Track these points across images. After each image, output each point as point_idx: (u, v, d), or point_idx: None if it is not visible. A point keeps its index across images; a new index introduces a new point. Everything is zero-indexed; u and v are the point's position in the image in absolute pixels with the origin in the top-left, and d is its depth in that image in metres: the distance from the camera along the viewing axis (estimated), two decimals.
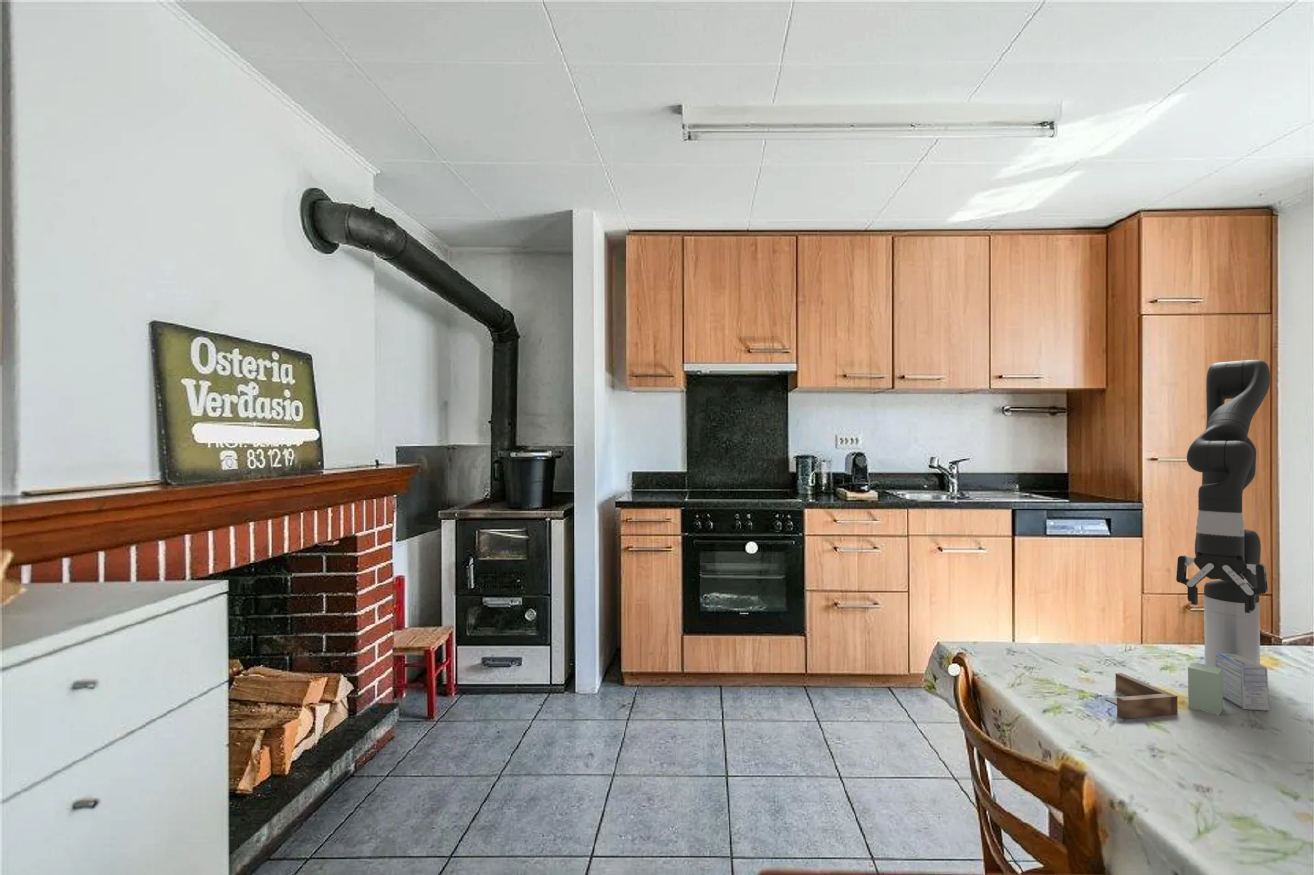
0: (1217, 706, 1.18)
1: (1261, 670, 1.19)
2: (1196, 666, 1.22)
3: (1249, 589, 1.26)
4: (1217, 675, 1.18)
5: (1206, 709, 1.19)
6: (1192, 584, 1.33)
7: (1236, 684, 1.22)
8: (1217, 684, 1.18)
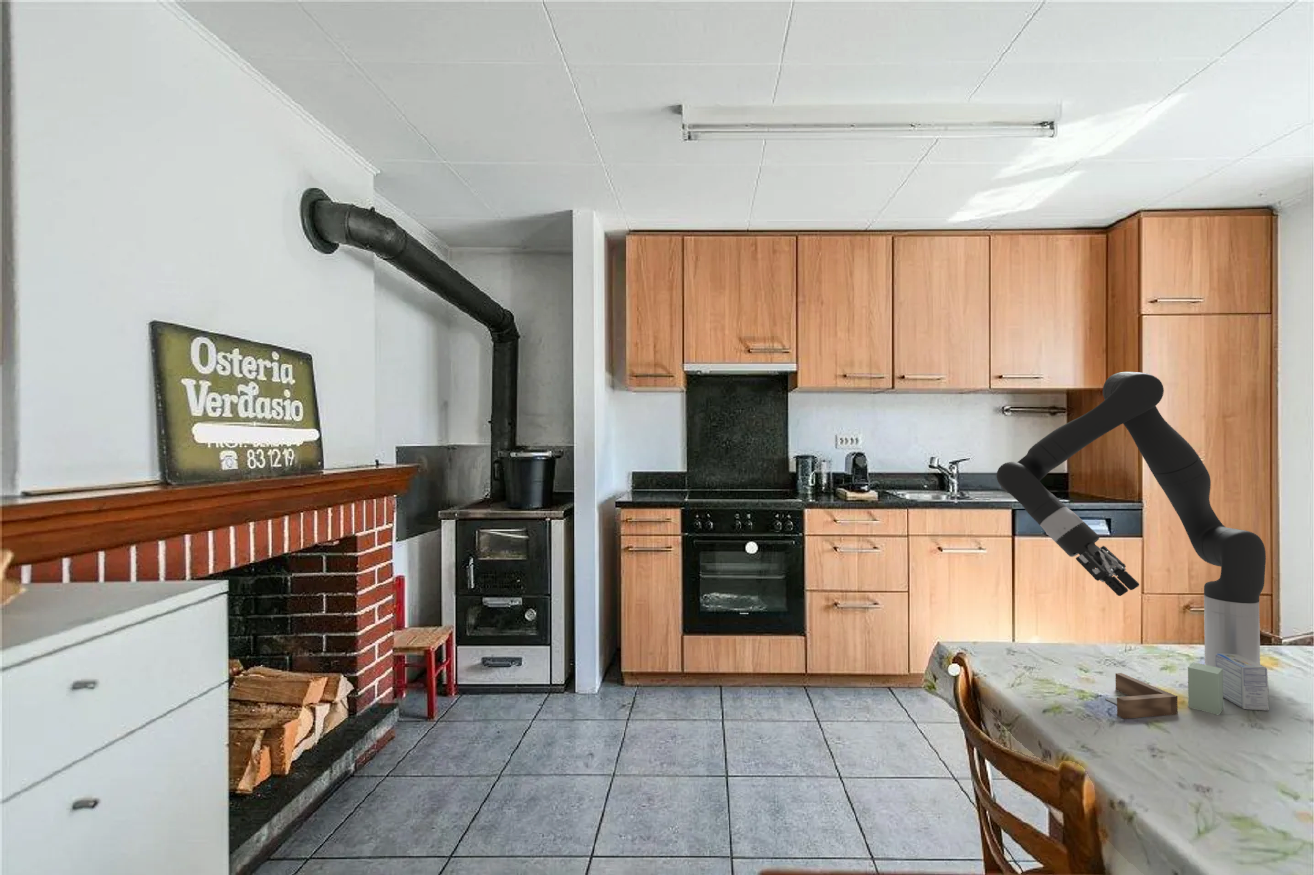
0: (1217, 706, 1.18)
1: (1261, 670, 1.19)
2: (1196, 666, 1.22)
3: None
4: (1217, 675, 1.18)
5: (1206, 709, 1.19)
6: None
7: (1236, 684, 1.22)
8: (1217, 684, 1.18)
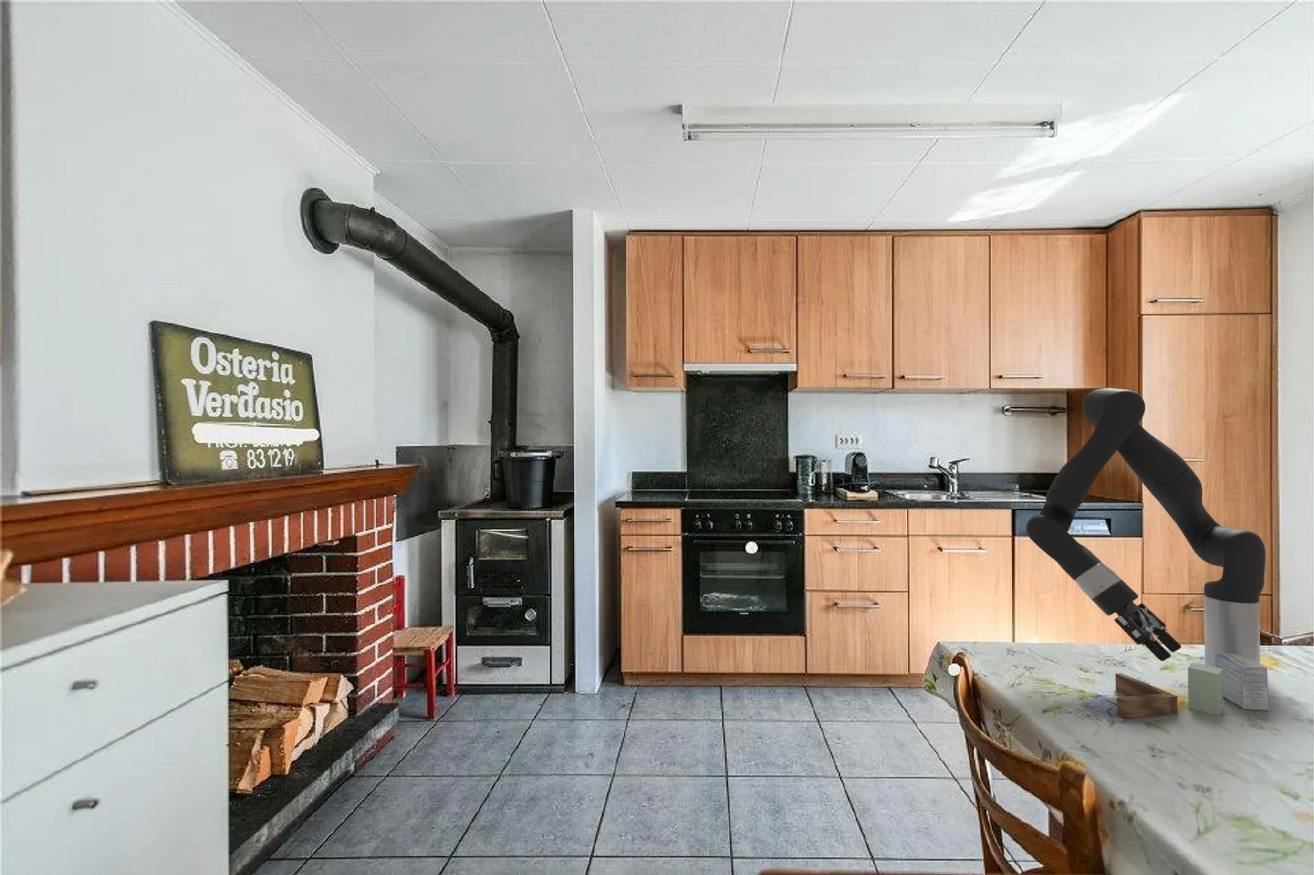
0: (1217, 706, 1.18)
1: (1261, 670, 1.19)
2: (1196, 666, 1.22)
3: None
4: (1217, 675, 1.18)
5: (1206, 709, 1.19)
6: None
7: (1236, 684, 1.22)
8: (1217, 684, 1.18)
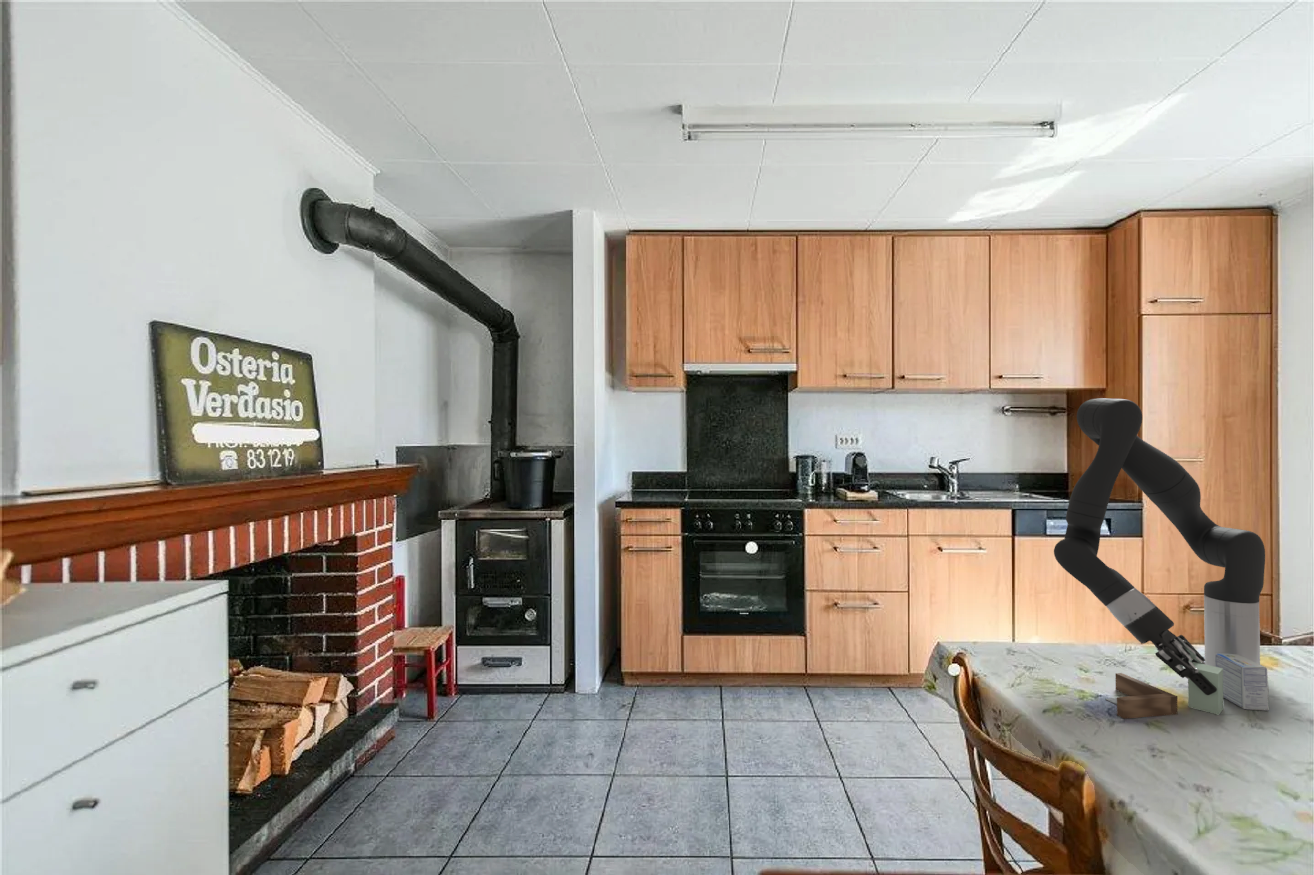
0: (1217, 706, 1.18)
1: (1261, 670, 1.19)
2: (1196, 665, 1.22)
3: None
4: (1217, 675, 1.18)
5: (1206, 709, 1.19)
6: None
7: (1236, 684, 1.22)
8: (1217, 684, 1.18)
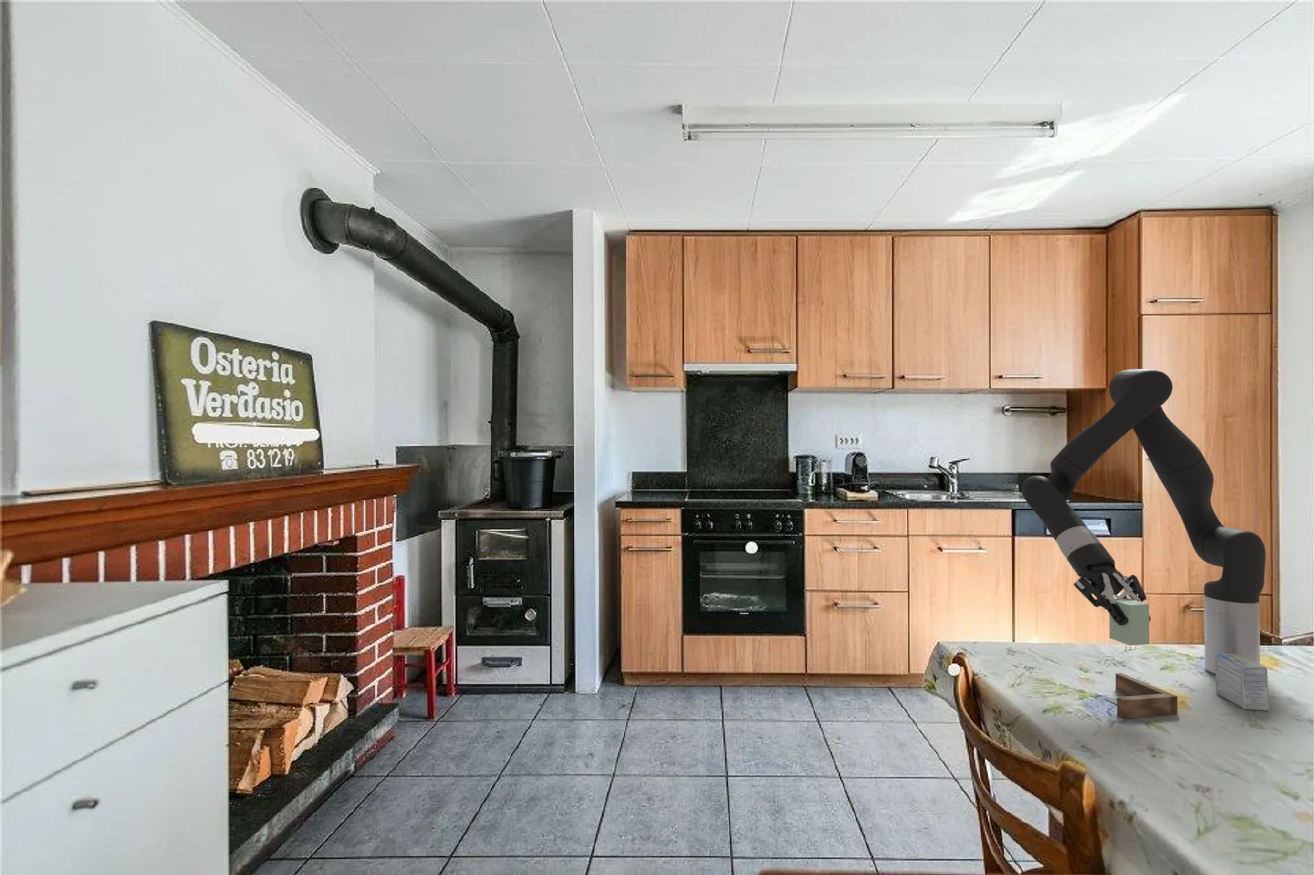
0: (1129, 637, 1.20)
1: (1261, 670, 1.19)
2: (1122, 599, 1.24)
3: None
4: (1129, 606, 1.20)
5: (1121, 640, 1.22)
6: None
7: (1236, 684, 1.22)
8: (1129, 615, 1.20)
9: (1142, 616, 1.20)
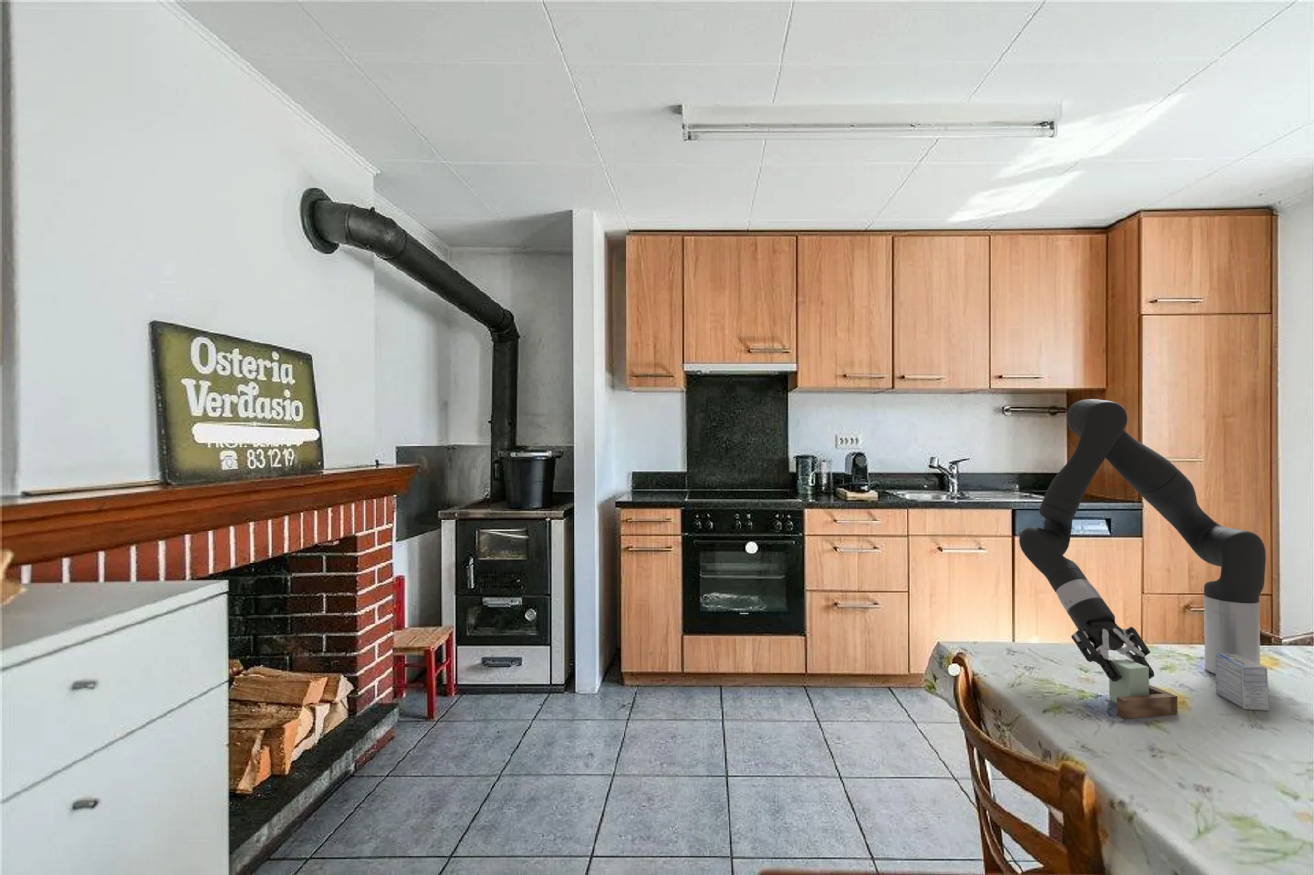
0: None
1: (1261, 670, 1.19)
2: (1122, 661, 1.24)
3: None
4: (1129, 670, 1.20)
5: None
6: None
7: (1236, 684, 1.22)
8: (1129, 679, 1.20)
9: (1142, 679, 1.20)
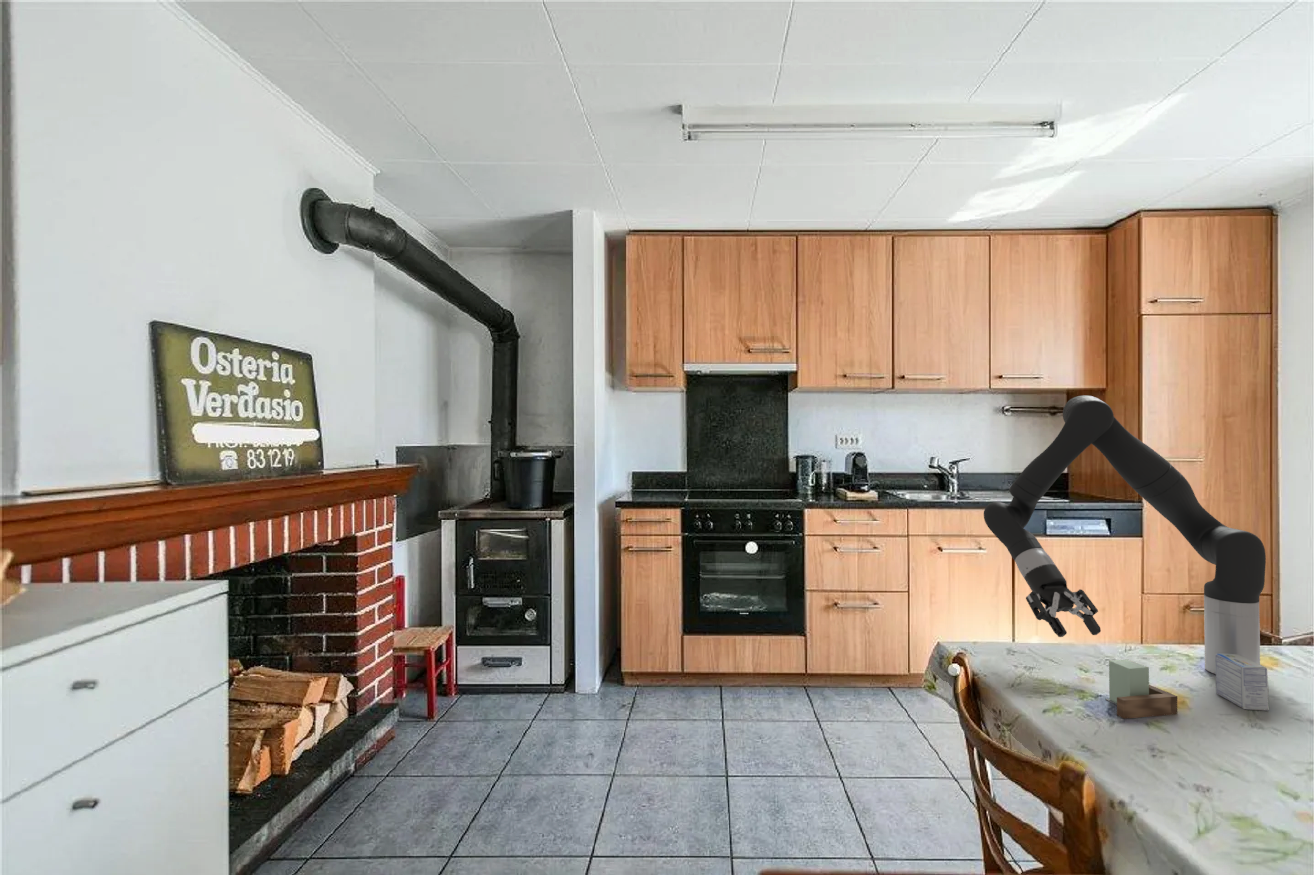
0: None
1: (1261, 670, 1.19)
2: (1122, 661, 1.24)
3: None
4: (1129, 670, 1.20)
5: None
6: None
7: (1236, 684, 1.22)
8: (1129, 679, 1.20)
9: (1142, 679, 1.20)
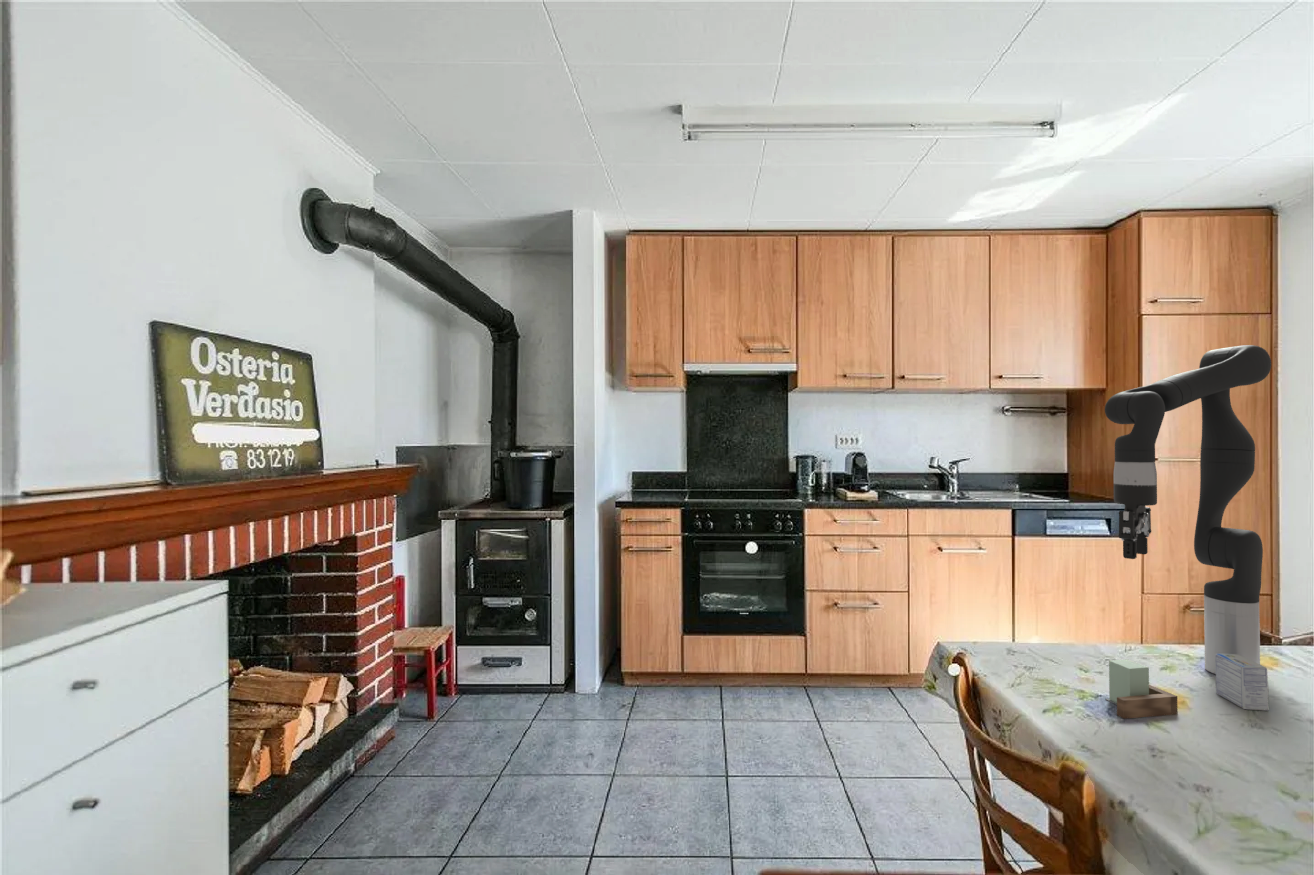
0: None
1: (1261, 670, 1.19)
2: (1122, 661, 1.24)
3: None
4: (1129, 670, 1.20)
5: None
6: None
7: (1236, 684, 1.22)
8: (1129, 679, 1.20)
9: (1142, 679, 1.20)
